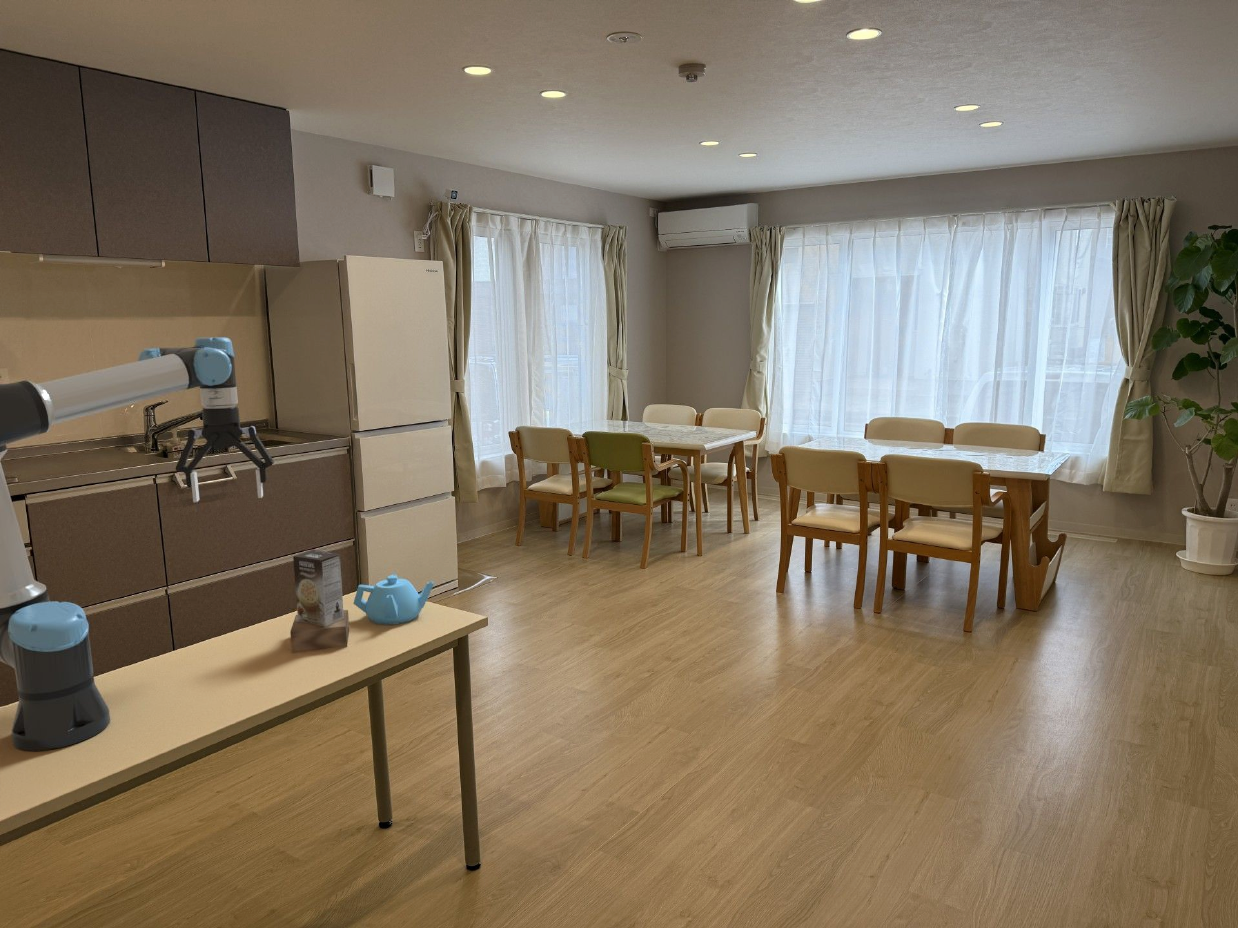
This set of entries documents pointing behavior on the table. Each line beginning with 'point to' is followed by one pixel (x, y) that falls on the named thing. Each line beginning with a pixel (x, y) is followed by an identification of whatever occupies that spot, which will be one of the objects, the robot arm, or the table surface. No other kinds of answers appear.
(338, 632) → the walnut base
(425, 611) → the table surface
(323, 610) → the coffee box
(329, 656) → the table surface
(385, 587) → the teapot
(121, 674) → the table surface
